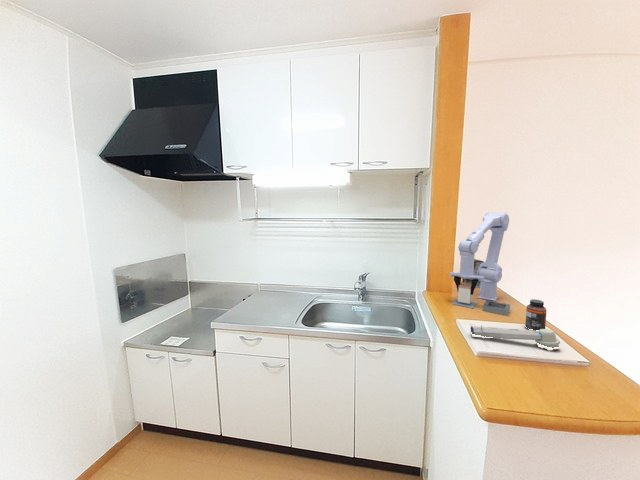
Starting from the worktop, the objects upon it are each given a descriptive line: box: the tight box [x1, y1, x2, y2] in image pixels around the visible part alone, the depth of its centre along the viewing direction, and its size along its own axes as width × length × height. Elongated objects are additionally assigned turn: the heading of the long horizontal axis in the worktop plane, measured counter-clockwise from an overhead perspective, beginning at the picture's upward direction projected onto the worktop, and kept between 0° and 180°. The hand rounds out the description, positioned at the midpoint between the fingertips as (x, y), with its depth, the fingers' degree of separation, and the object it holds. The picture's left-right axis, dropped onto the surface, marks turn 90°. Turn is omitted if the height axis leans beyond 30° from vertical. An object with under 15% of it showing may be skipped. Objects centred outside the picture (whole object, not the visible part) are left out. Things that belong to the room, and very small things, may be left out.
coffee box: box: [461, 258, 485, 289], centre depth 160 cm, size 9×6×16 cm
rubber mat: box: [451, 298, 478, 309], centre depth 130 cm, size 9×9×1 cm
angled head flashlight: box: [470, 324, 561, 348], centre depth 92 cm, size 5×7×25 cm
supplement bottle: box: [524, 298, 547, 330], centre depth 101 cm, size 6×6×11 cm
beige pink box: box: [457, 282, 473, 304], centre depth 129 cm, size 5×5×8 cm
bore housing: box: [482, 299, 511, 317], centre depth 121 cm, size 10×10×2 cm
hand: (465, 293), depth 129 cm, fingers open, 5 cm apart
